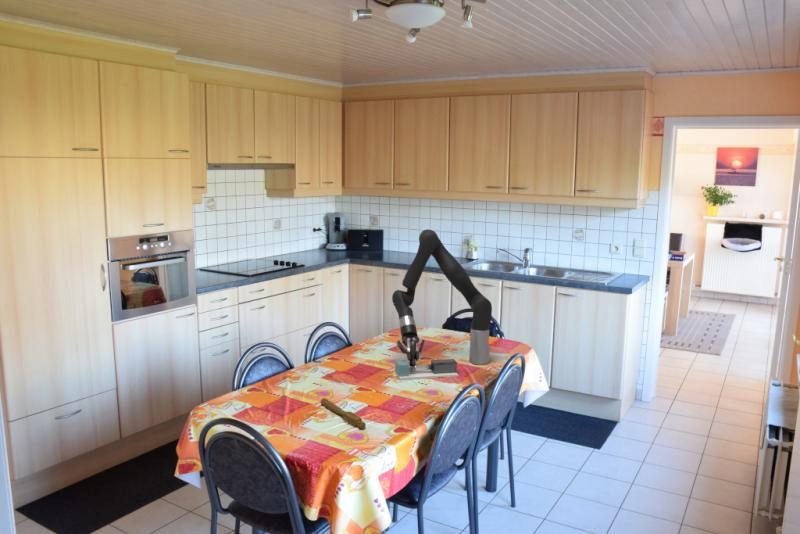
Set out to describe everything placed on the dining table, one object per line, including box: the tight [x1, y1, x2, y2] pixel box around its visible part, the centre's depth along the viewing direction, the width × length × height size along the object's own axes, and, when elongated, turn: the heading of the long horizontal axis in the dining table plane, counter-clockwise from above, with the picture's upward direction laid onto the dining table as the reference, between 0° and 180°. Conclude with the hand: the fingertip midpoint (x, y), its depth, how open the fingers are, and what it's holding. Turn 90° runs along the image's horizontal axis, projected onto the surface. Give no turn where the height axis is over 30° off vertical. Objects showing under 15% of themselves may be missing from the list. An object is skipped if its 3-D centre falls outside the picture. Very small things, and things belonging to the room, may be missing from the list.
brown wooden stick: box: [320, 397, 366, 430], centre depth 249 cm, size 3×3×30 cm
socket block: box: [394, 359, 409, 377], centre depth 297 cm, size 4×8×5 cm, turn 13°
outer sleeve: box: [430, 358, 458, 374], centre depth 302 cm, size 11×5×5 cm, turn 103°
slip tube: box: [408, 340, 434, 372], centre depth 298 cm, size 17×4×15 cm, turn 103°
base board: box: [393, 369, 460, 381], centre depth 300 cm, size 28×11×1 cm, turn 103°
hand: (413, 360), depth 296 cm, fingers closed on slip tube, 3 cm apart
